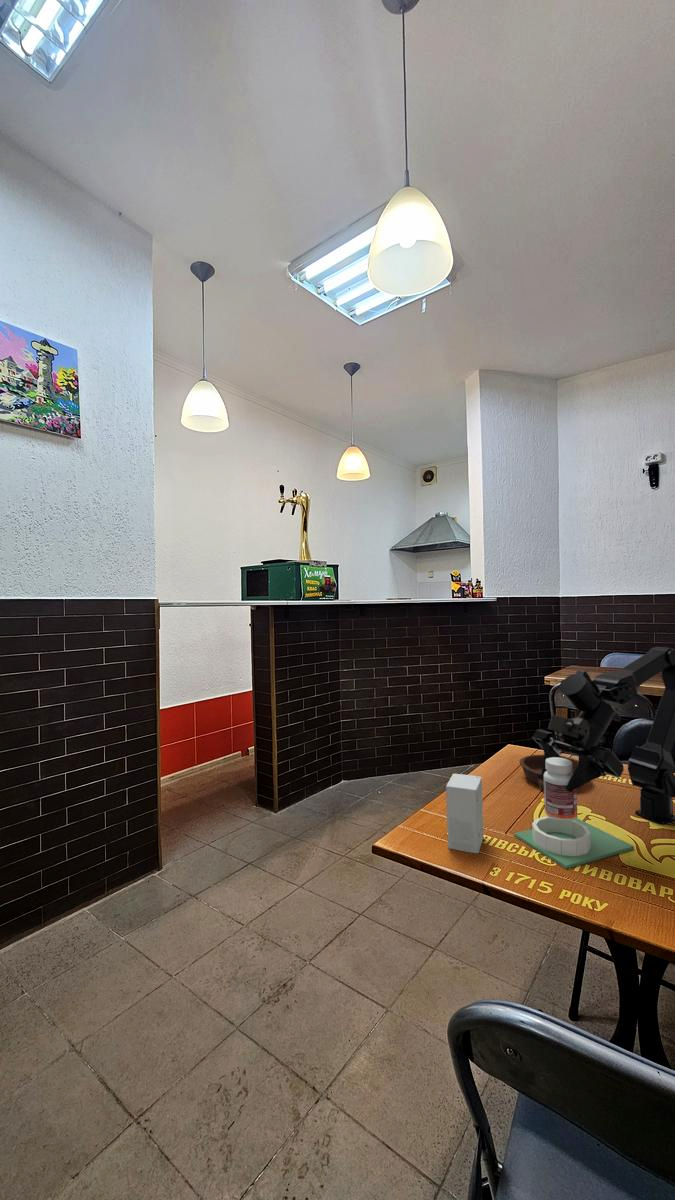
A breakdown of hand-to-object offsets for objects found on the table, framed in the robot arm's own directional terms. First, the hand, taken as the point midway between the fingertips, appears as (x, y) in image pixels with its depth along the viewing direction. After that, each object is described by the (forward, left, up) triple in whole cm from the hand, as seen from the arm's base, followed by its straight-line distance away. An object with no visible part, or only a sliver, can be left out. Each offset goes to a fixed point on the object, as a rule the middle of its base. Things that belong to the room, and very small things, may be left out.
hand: (554, 785), depth 99 cm
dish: (-27, -28, -13) cm, 41 cm away
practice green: (-4, 0, -13) cm, 13 cm away
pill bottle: (-1, 0, -7) cm, 7 cm away
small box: (+16, -9, -13) cm, 22 cm away
